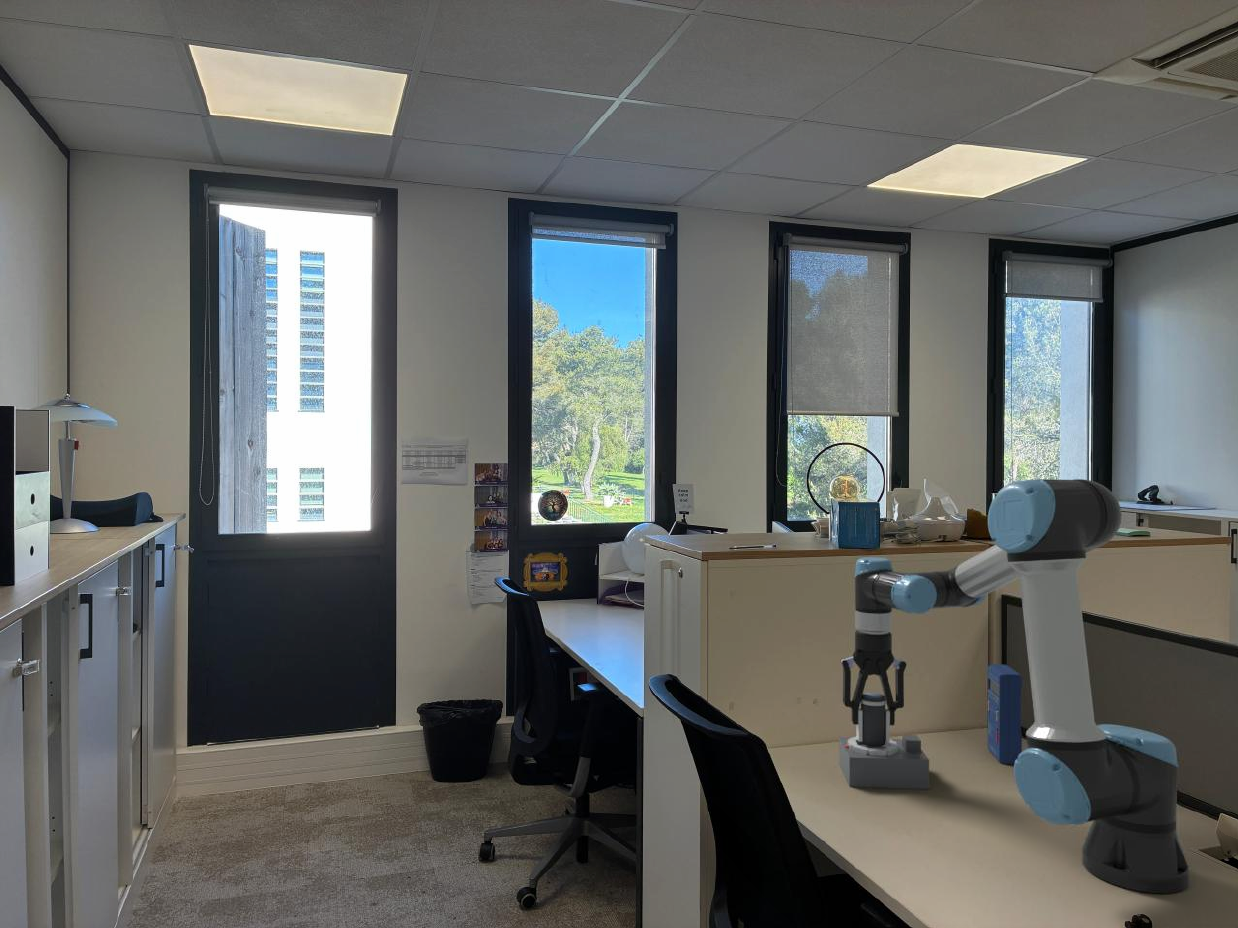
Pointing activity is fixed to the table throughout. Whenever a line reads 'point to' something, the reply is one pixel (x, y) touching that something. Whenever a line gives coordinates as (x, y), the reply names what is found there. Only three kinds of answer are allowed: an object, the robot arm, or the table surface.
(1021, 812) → the table surface
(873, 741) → the lens
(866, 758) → the camera body
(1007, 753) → the electronic device
